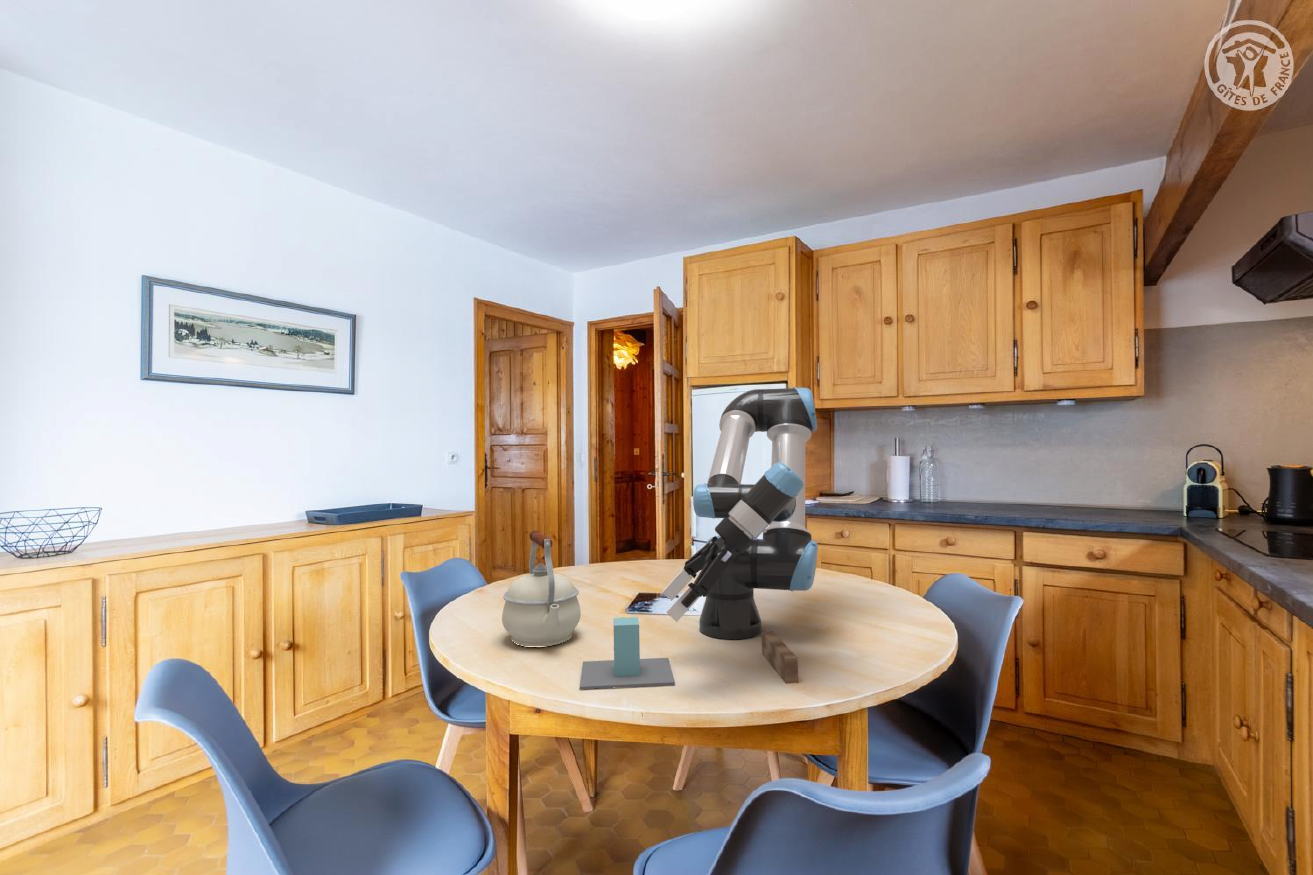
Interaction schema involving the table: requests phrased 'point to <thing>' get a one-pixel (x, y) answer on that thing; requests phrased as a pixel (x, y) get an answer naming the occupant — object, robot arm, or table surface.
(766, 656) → the rail
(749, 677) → the table surface
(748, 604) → the robot arm
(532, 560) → the kettle
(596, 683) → the mat
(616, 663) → the block
